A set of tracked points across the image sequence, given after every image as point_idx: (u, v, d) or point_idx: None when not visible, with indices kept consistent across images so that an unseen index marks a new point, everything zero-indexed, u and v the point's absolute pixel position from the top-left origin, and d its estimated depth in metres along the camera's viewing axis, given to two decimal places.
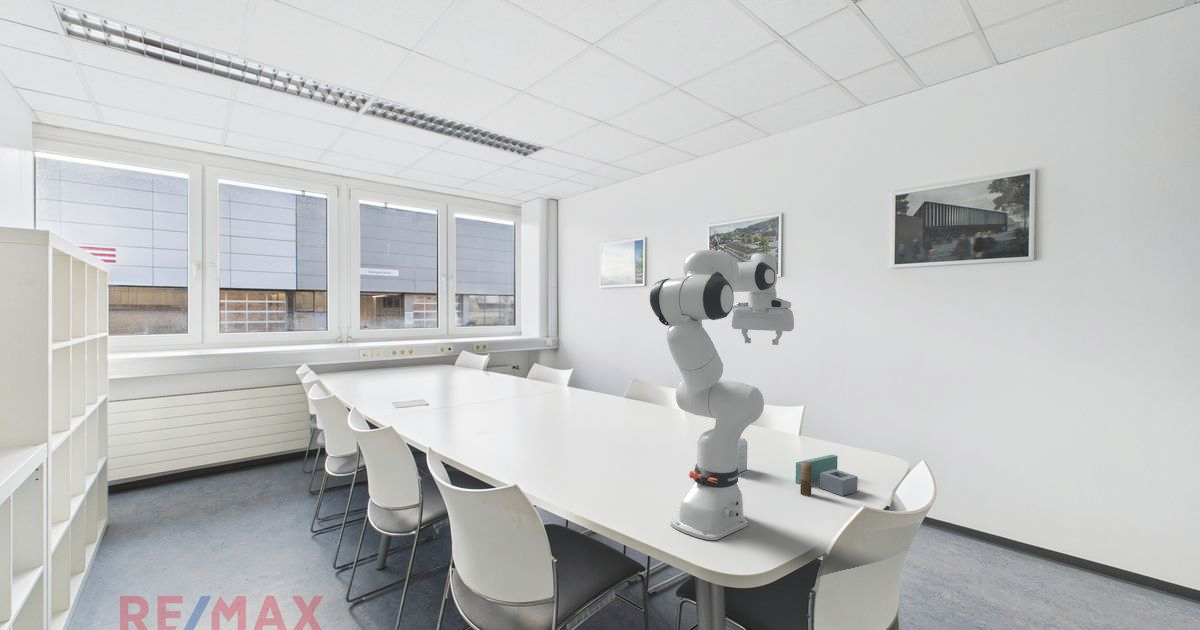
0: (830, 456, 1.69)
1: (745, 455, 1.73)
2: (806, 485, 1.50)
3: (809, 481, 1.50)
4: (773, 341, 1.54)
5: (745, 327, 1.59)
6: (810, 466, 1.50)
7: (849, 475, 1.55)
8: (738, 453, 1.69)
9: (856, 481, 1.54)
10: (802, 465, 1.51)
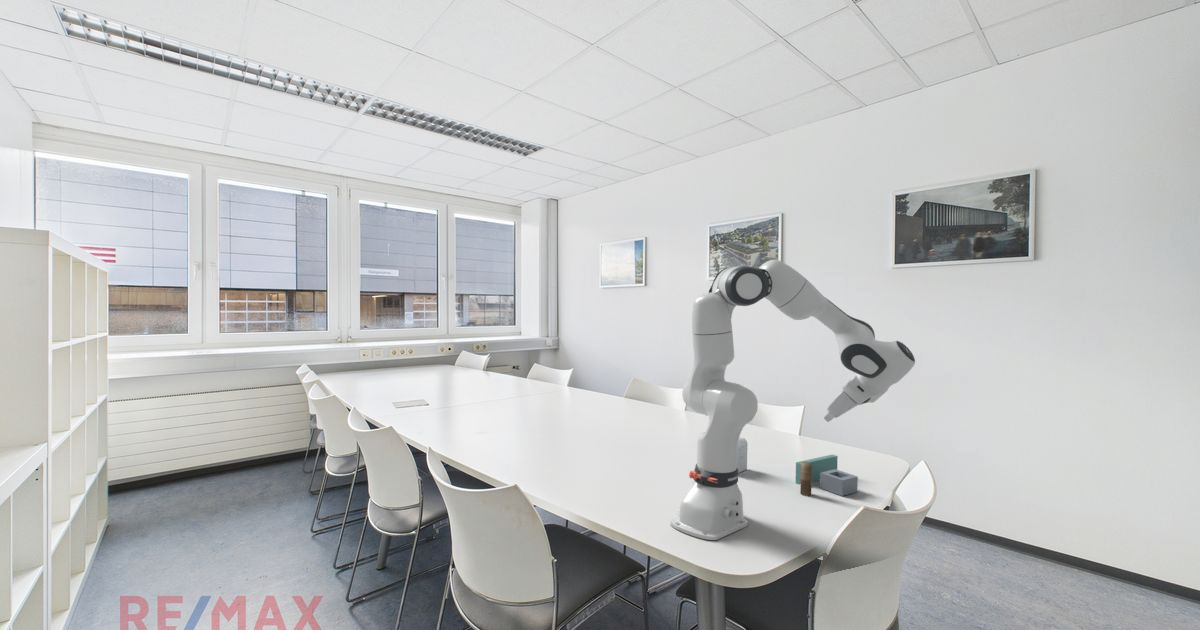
0: (830, 456, 1.69)
1: (745, 455, 1.73)
2: (806, 485, 1.50)
3: (809, 481, 1.50)
4: (827, 414, 1.42)
5: None
6: (810, 466, 1.50)
7: (849, 475, 1.55)
8: (738, 453, 1.69)
9: (856, 481, 1.54)
10: (802, 465, 1.51)
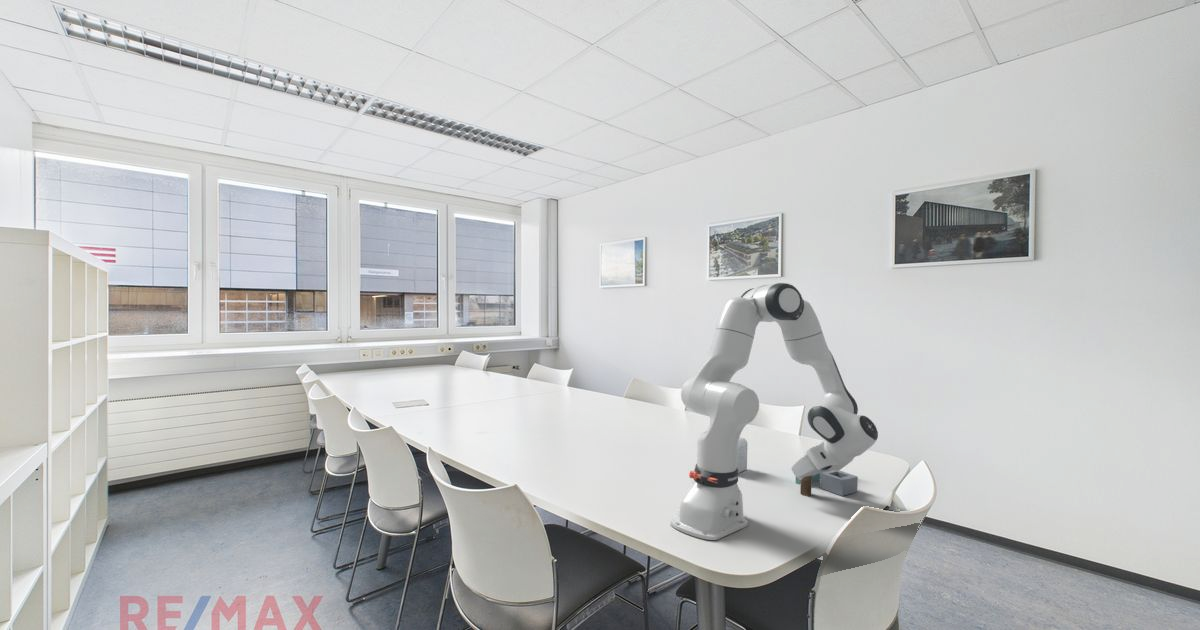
0: None
1: (745, 455, 1.73)
2: (805, 485, 1.50)
3: (809, 481, 1.50)
4: None
5: None
6: None
7: (849, 475, 1.55)
8: (738, 453, 1.69)
9: (856, 481, 1.54)
10: None
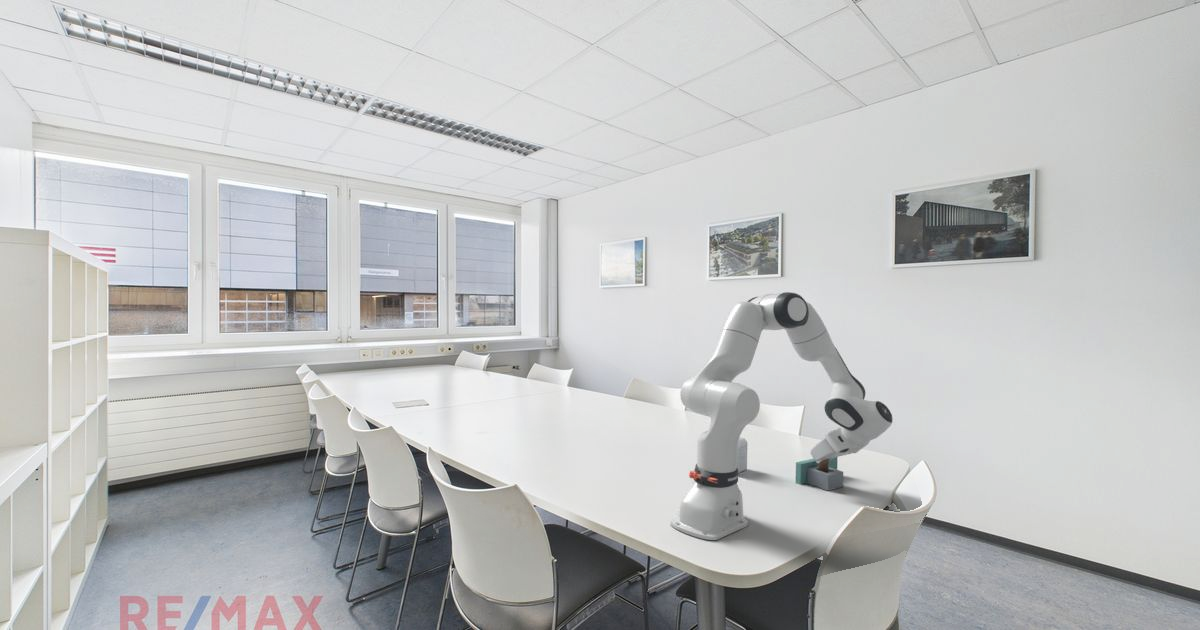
0: None
1: (745, 455, 1.73)
2: (823, 468, 1.59)
3: (826, 464, 1.59)
4: None
5: None
6: None
7: (835, 470, 1.59)
8: (738, 453, 1.69)
9: (842, 476, 1.58)
10: None
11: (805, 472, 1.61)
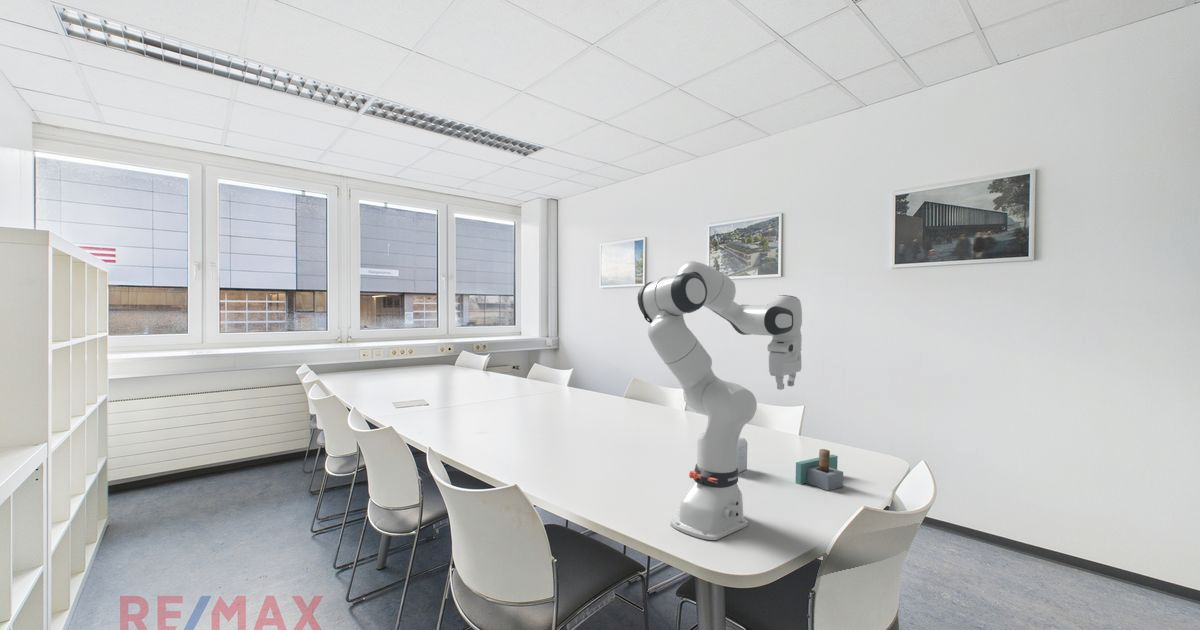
0: (830, 456, 1.69)
1: (745, 455, 1.73)
2: (823, 471, 1.59)
3: (827, 467, 1.59)
4: None
5: None
6: (828, 453, 1.59)
7: (835, 470, 1.59)
8: (738, 453, 1.69)
9: (842, 476, 1.58)
10: (820, 452, 1.60)
11: (805, 472, 1.61)
